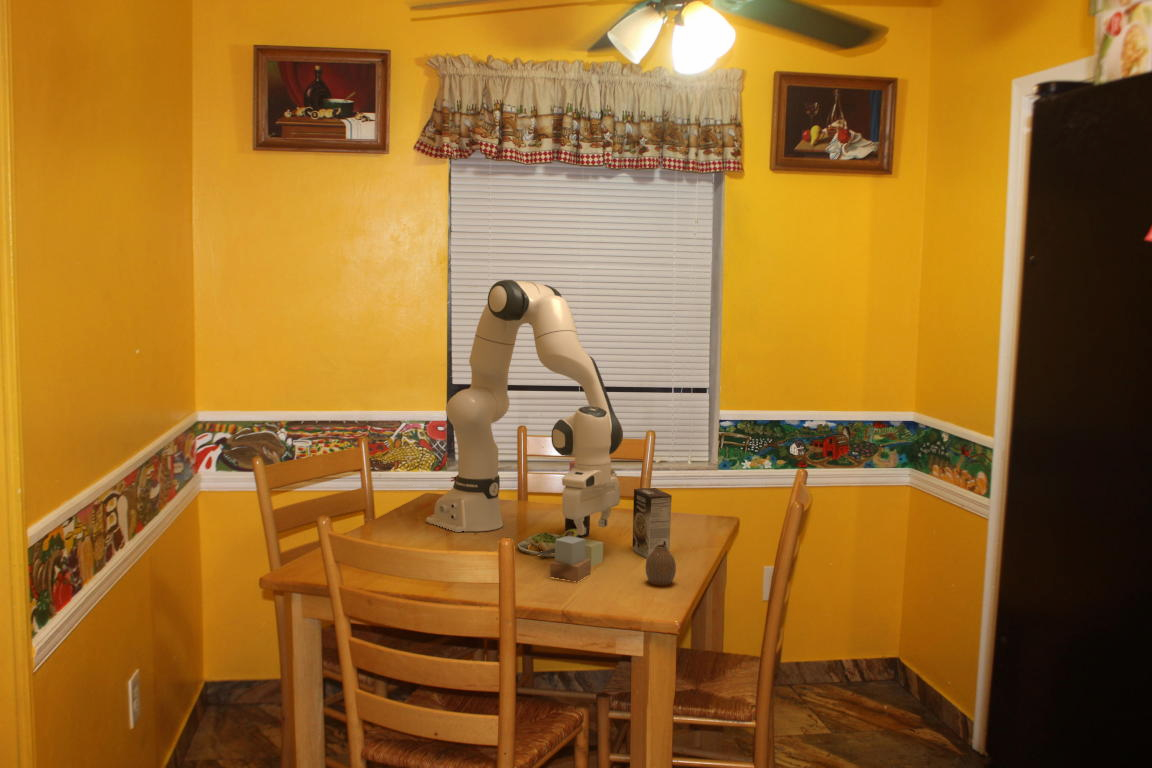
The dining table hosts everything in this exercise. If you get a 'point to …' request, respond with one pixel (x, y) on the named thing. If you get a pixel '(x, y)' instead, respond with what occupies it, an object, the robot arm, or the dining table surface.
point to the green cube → (594, 551)
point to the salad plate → (545, 542)
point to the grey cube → (570, 550)
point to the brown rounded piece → (660, 566)
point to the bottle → (570, 522)
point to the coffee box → (651, 520)
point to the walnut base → (570, 570)
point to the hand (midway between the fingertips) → (592, 530)
